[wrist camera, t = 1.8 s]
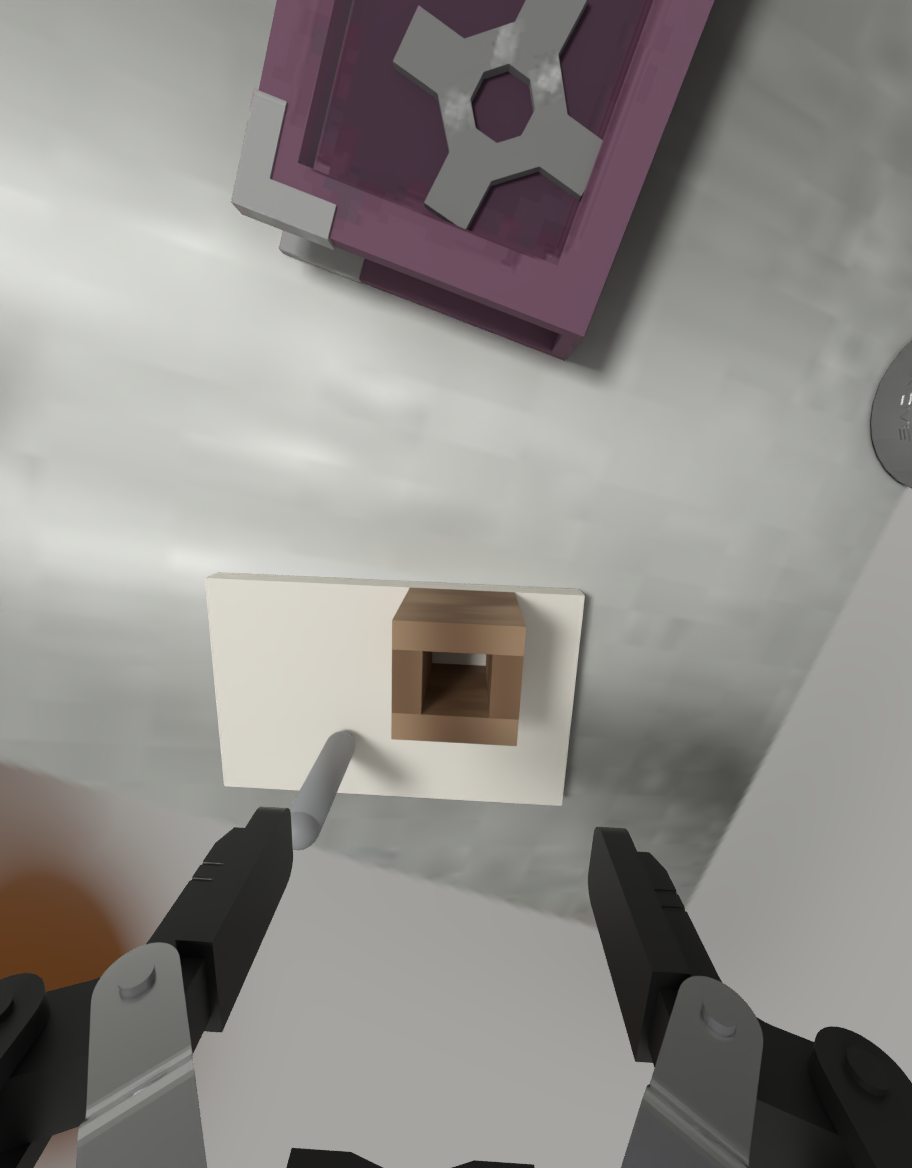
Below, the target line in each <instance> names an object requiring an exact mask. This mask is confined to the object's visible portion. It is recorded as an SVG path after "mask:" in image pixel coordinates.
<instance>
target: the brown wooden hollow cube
mask: <svg viewBox="0 0 912 1168" xmlns="http://www.w3.org/2000/svg"><path fill="white" fill-rule="evenodd" d="M525 636H526V625H525V622H524V619H523V616H522V613H521V610H520V607H519V604H518V601H517V598H516V595H515V592H497V591H475V590H454V589H432V588H411V587H410V588H409V590H408V592H407V594H406V596H405V597H404V599H403V601H402V603H401V605H400V607H399V608H398V610H397V612H396V614H395V616H394V618H393V619H392V714H391V739H395V740H413V741H431V742H449V743H467V744H485V745H503V746H517V737H518V724H519V711H520V699H521V686H522V674H523V661H524V648H525ZM432 652H452V653H472V654H486V666H481V665H461V664H442V663H432Z"/></svg>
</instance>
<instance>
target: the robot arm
mask: <svg viewBox="0 0 912 1168" xmlns="http://www.w3.org/2000/svg"><path fill="white" fill-rule="evenodd" d="M871 429H872V440H873V443H874V447H875V450H876V453H877V456H878V458H879V459H880V461H881V462H882V464H883V466H884V467H885V469H886V470H887V471H888V472H889V473H890V474H891V475H892V476H893V477H894V478H895V479H896V480H897V481H899V482H901V483H903V484H904V485H906V486H908V487H910V488H912V341H911V342H910V343H909V344H907V345H906V346H905V347H904V348H903V350H902V351H901V352H900V353H899V355H898V356H897V357H896V358H895V360H894V361H893V362H892V363H891V365H890V366H889V368H888V370H887V372H886V374H885V375H884V377H883V379H882V381H881V382H880V385H879V388H878V391H877V394H876V397H875V400H874V403H873V410H872V417H871ZM292 862H293V846H292V826H291V812H290V809H288V808H275V807H259V808H258V809H257V810H256V812H255V813H254V815H253V816H252V818H251V819H250V821H249V823H248V824H247V826H246V827H245V828H236V827H234V828H233V829H232V830H231V831H229V832H228V833H227V834H226V835H225V836H223V837H222V838H221V839H220V840H218V841H217V842H216V843H215V844H214V846H213V847H212V849H211V850H210V852H209V853H208V855H207V856H206V858H205V859H204V861H203V864H202V865H200V866H199V868H198V869H197V871H196V872H195V874H194V875H193V878H192V880H191V881H189V883H188V884H187V885H186V887H185V888H184V890H183V891H182V893H181V894H180V896H179V897H178V899H177V900H176V902H175V903H174V904H173V906H172V907H171V909H170V910H169V912H168V913H167V915H166V917H165V918H164V919H163V921H162V922H161V924H160V925H159V927H158V928H157V929H156V931H155V932H154V934H153V935H152V937H151V938H150V940H149V941H148V942H147V944H146V945H143V946H140V947H138V948H135V949H134V950H132V951H130V952H128V953H127V954H125V955H123V956H122V957H121V958H120V959H118V960H117V961H116V962H114V963H113V964H112V965H111V966H110V967H109V968H108V969H107V970H106V972H105V973H104V974H103V975H102V977H100V978H97V979H94V980H91V981H87V982H83V983H79V984H75V985H72V986H68V987H64V988H60V989H56V990H52V991H48V992H46V990H45V985H44V982H43V980H42V979H41V978H40V977H39V976H38V975H35V974H30V973H23V974H16V975H12V976H9V977H6V978H3V979H1V980H0V1168H33V1167H34V1166H35V1164H36V1162H37V1160H38V1159H39V1157H40V1155H41V1154H42V1152H43V1150H44V1149H45V1147H46V1145H47V1143H48V1142H49V1140H50V1138H51V1137H52V1135H55V1134H58V1133H61V1132H64V1131H66V1130H69V1129H72V1128H75V1127H78V1126H80V1127H79V1133H78V1142H77V1159H76V1168H207V1163H206V1155H205V1147H204V1140H203V1132H202V1125H201V1117H200V1109H199V1101H198V1094H197V1087H196V1078H195V1071H194V1063H193V1057H192V1056H193V1053H194V1050H195V1049H196V1046H197V1044H198V1042H199V1040H200V1038H201V1035H202V1034H203V1032H204V1031H209V1032H222V1031H223V1029H224V1027H225V1024H226V1022H227V1020H228V1017H229V1015H230V1013H231V1011H232V1008H233V1006H234V1004H235V1002H236V999H237V997H238V995H239V993H240V990H241V988H242V986H243V983H244V981H245V979H246V976H247V974H248V972H249V970H250V967H251V965H252V963H253V961H254V958H255V956H256V954H257V952H258V949H259V947H260V945H261V943H262V940H263V938H264V936H265V934H266V931H267V929H268V927H269V924H270V922H271V920H272V918H273V915H274V913H275V911H276V908H277V906H278V904H279V902H280V899H281V897H282V895H283V893H284V890H285V888H286V886H287V883H288V881H289V877H290V874H291V869H292ZM588 889H589V897H590V902H591V906H592V910H593V913H594V917H595V920H596V924H597V927H598V931H599V934H600V938H601V941H602V945H603V949H604V952H605V956H606V959H607V963H608V966H609V970H610V973H611V977H612V980H613V984H614V987H615V991H616V995H617V998H618V1002H619V1005H620V1009H621V1012H622V1016H623V1019H624V1023H625V1027H626V1030H627V1033H628V1037H629V1041H630V1044H631V1048H632V1051H633V1055H634V1059H635V1061H636V1062H650V1063H653V1064H654V1067H655V1069H654V1072H653V1075H652V1079H651V1081H650V1084H649V1085H648V1086H647V1087H646V1090H645V1093H644V1096H643V1099H642V1102H641V1105H640V1108H639V1111H638V1115H637V1118H636V1121H635V1124H634V1127H633V1131H632V1134H631V1137H630V1140H629V1143H628V1147H627V1150H626V1153H625V1156H624V1159H623V1163H622V1166H621V1168H912V1083H911V1081H910V1080H909V1079H908V1077H907V1076H906V1075H905V1073H904V1072H903V1071H902V1070H901V1068H900V1067H899V1066H898V1065H897V1064H896V1063H895V1062H894V1061H893V1060H892V1059H891V1058H890V1057H889V1056H888V1055H887V1054H886V1053H884V1051H882V1050H881V1049H880V1048H879V1047H877V1046H876V1045H875V1044H873V1043H872V1042H870V1041H869V1040H867V1039H866V1038H864V1037H863V1036H861V1035H859V1034H857V1033H854V1032H853V1031H850V1030H847V1029H844V1028H840V1027H826V1028H823V1029H822V1030H820V1031H819V1032H818V1034H817V1036H816V1038H815V1042H812V1041H810V1040H807V1039H805V1038H802V1037H800V1036H797V1035H794V1034H792V1033H789V1032H787V1031H784V1030H782V1029H779V1028H777V1027H774V1026H772V1025H770V1024H768V1023H765V1022H764V1021H762V1020H760V1019H759V1018H757V1017H756V1016H755V1014H754V1013H753V1011H752V1010H751V1008H750V1007H749V1006H748V1004H747V1003H746V1002H745V1001H744V1000H743V999H742V998H741V997H740V996H739V995H738V994H737V993H736V992H735V991H733V990H732V989H731V988H730V987H728V986H727V985H725V984H723V983H722V981H721V980H720V978H719V976H718V974H717V972H716V970H715V968H714V966H713V964H712V962H711V960H710V958H709V956H708V954H707V952H706V950H705V948H704V946H703V944H702V942H701V940H700V938H699V936H698V934H697V931H696V929H695V927H694V926H693V923H692V921H691V919H690V917H689V915H688V913H687V912H685V907H684V905H683V903H682V901H681V899H680V897H679V895H678V894H677V893H676V889H675V887H674V885H673V883H672V881H671V879H670V877H669V875H668V873H667V871H666V870H665V868H664V867H663V866H662V865H661V864H660V863H659V862H658V861H657V860H656V859H655V858H654V857H653V856H652V855H651V854H650V853H649V852H637V850H636V848H635V846H634V843H633V841H632V839H631V837H630V834H629V832H628V831H627V830H626V829H625V828H609V827H596V828H595V830H594V836H593V843H592V850H591V858H590V865H589V872H588ZM287 1168H382V1167H380V1166H378V1165H376V1164H374V1163H372V1162H370V1161H368V1160H366V1159H364V1158H362V1157H360V1156H358V1155H356V1154H354V1153H352V1152H343V1151H329V1150H328V1151H327V1150H313V1149H300V1148H292V1149H291V1153H290V1157H289V1160H288V1164H287ZM453 1168H534V1165H531V1164H516V1163H502V1162H488V1161H471V1162H468V1163H465V1164H462V1165H459V1166H456V1167H453Z"/></svg>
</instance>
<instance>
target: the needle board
mask: <svg viewBox="0 0 912 1168" xmlns="http://www.w3.org/2000/svg"><path fill="white" fill-rule="evenodd" d="M410 587H411V588H432V589H454V590H475V591H497V592H515V595H516V598H517V601H518V604H519V607H520V610H521V613H522V616H523V619H524V622H525V625H526V636H525V648H524V661H523V674H522V686H521V699H520V711H519V724H518V737H517V746H503V745H485V744H467V743H449V742H431V741H413V740H395V739H391V714H392V619H393V618H394V616H395V614H396V612H397V610H398V608H399V607H400V605H401V603H402V601H403V599H404V597H405V596H406V594H407V592H408V590H409V588H410ZM205 588H206V598H207V609H208V619H209V630H210V640H211V651H212V662H213V672H214V683H215V693H216V704H217V714H218V725H219V735H220V746H221V757H222V767H223V778H224V786H233V787H250V788H267V789H284V790H300V791H299V793H298V794H297V796H296V798H295V800H294V802H293V804H292V805H291V807H290V812H291V826H292V846H293V850H302V849H306V848H308V847H309V846H311V845H312V844H313V843H314V842H315V841H316V839H317V837H318V836H319V833H320V831H321V829H322V826H323V824H324V822H325V819H326V817H327V815H328V812H329V810H330V807H331V805H332V803H333V800H334V798H335V796H336V793H352V794H369V795H386V796H403V797H420V798H437V799H454V800H471V801H489V802H506V803H523V804H540V805H557V806H562V799H563V790H564V781H565V772H566V763H567V754H568V745H569V736H570V727H571V717H572V708H573V699H574V690H575V681H576V672H577V663H578V654H579V645H580V635H581V626H582V617H583V608H584V599H585V595H584V594H583V593H582V592H581V591H580V590H579V589H566V588H545V587H523V586H502V585H480V584H459V583H437V582H415V581H394V580H372V579H351V578H329V577H308V576H286V575H264V574H243V573H221V572H218V573H216V574H213V575H211V576H208V577H206V578H205ZM432 663H442V664H461V665H481V666H486V654H472V653H452V652H432Z"/></svg>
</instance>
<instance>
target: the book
mask: <svg viewBox="0 0 912 1168" xmlns="http://www.w3.org/2000/svg"><path fill="white" fill-rule="evenodd" d="M713 3H714V0H277V3H276V7H275V12H274V17H273V22H272V27H271V32H270V37H269V42H268V47H267V52H266V57H265V62H264V67H263V72H262V76H261V81H260V86H259V90H257V89H254V92H253V97H252V102H251V107H250V112H249V117H248V122H247V127H246V132H245V136H244V141H243V146H242V151H241V156H240V161H239V166H238V171H237V176H236V181H235V186H234V191H233V196H232V201H231V202H232V204H233V205H234V206H235V207H236V208H237V209H238V210H239V211H240V212H241V214H242V215H245V216H248V217H250V218H253V219H255V220H258V221H260V222H263V223H266V224H268V225H271V226H273V227H276V228H278V229H281V230H283V233H282V237H281V242H280V246H279V249H280V250H281V252H282V253H284V254H286V255H289V256H291V257H294V258H297V259H299V260H302V261H304V262H307V263H310V264H312V265H315V266H317V267H320V268H323V269H325V270H328V271H330V272H333V273H335V274H338V275H341V276H343V277H346V278H348V279H351V280H354V281H356V282H359V283H361V282H362V283H365V284H368V285H370V286H373V287H375V288H378V289H380V290H383V291H386V292H388V293H391V294H393V295H396V296H399V297H401V298H404V299H406V300H409V301H412V302H414V303H417V304H419V305H422V306H424V307H427V308H430V309H432V310H435V311H437V312H440V313H443V314H445V315H448V316H450V317H453V318H456V319H458V320H461V321H463V322H466V323H468V324H471V325H474V326H476V327H479V328H481V329H484V330H487V331H489V332H492V333H494V334H497V335H500V336H502V337H505V338H507V339H510V340H513V341H515V342H518V343H520V344H523V345H525V346H528V347H531V348H533V349H536V350H538V351H541V352H544V353H546V354H549V355H551V356H554V357H557V358H559V359H562V360H564V361H565V359H566V358H567V357H568V356H569V354H570V353H571V352H572V351H573V350H574V348H575V347H576V346H577V345H578V343H579V342H580V341H581V340H582V338H583V337H584V335H585V332H586V330H587V327H588V325H589V322H590V320H591V317H592V314H593V312H594V309H595V307H596V304H597V302H598V299H599V296H600V294H601V291H602V289H603V286H604V284H605V281H606V278H607V276H608V273H609V271H610V268H611V266H612V263H613V260H614V258H615V255H616V253H617V250H618V247H619V245H620V242H621V240H622V237H623V235H624V232H625V229H626V227H627V224H628V222H629V219H630V217H631V214H632V211H633V209H634V206H635V204H636V201H637V199H638V196H639V193H640V191H641V188H642V186H643V183H644V181H645V178H646V175H647V173H648V170H649V168H650V165H651V162H652V160H653V157H654V155H655V152H656V150H657V147H658V144H659V142H660V139H661V137H662V134H663V132H664V129H665V126H666V124H667V121H668V119H669V116H670V114H671V111H672V108H673V106H674V103H675V101H676V98H677V95H678V93H679V90H680V88H681V85H682V83H683V80H684V77H685V75H686V72H687V70H688V67H689V65H690V62H691V59H692V57H693V54H694V52H695V49H696V47H697V44H698V41H699V39H700V36H701V34H702V31H703V29H704V26H705V23H706V21H707V18H708V16H709V13H710V10H711V8H712V5H713Z"/></svg>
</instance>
